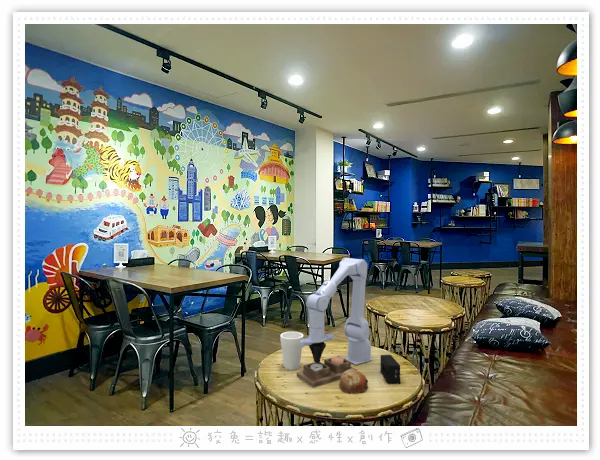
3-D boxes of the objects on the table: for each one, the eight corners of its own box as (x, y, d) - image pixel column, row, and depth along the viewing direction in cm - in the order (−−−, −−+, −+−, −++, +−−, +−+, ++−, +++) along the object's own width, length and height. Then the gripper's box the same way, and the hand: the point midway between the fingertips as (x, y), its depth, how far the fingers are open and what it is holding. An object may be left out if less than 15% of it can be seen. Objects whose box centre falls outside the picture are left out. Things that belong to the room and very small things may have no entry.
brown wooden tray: (339, 364, 147) (339, 353, 147) (357, 374, 138) (357, 362, 138) (296, 376, 136) (296, 364, 135) (312, 387, 126) (312, 375, 126)
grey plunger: (318, 370, 137) (318, 362, 137) (325, 375, 133) (325, 367, 133) (307, 373, 135) (307, 365, 135) (315, 378, 131) (315, 370, 131)
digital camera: (377, 372, 140) (377, 354, 140) (390, 371, 140) (390, 354, 140) (385, 384, 129) (385, 365, 129) (399, 383, 130) (400, 365, 130)
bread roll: (342, 390, 132) (333, 371, 132) (367, 379, 132) (358, 359, 132) (345, 404, 122) (335, 383, 122) (372, 392, 122) (362, 371, 122)
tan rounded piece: (338, 363, 143) (338, 355, 142) (345, 367, 139) (346, 359, 138) (328, 365, 140) (328, 358, 140) (336, 370, 136) (336, 362, 136)
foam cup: (300, 372, 139) (300, 339, 138) (277, 370, 141) (277, 338, 140) (305, 362, 148) (305, 332, 148) (283, 361, 150) (283, 330, 150)
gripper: (325, 320, 141) (325, 354, 141) (295, 326, 133) (295, 362, 133) (337, 325, 135) (336, 360, 135) (305, 331, 127) (305, 369, 127)
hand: (316, 361), depth 134 cm, fingers closed
